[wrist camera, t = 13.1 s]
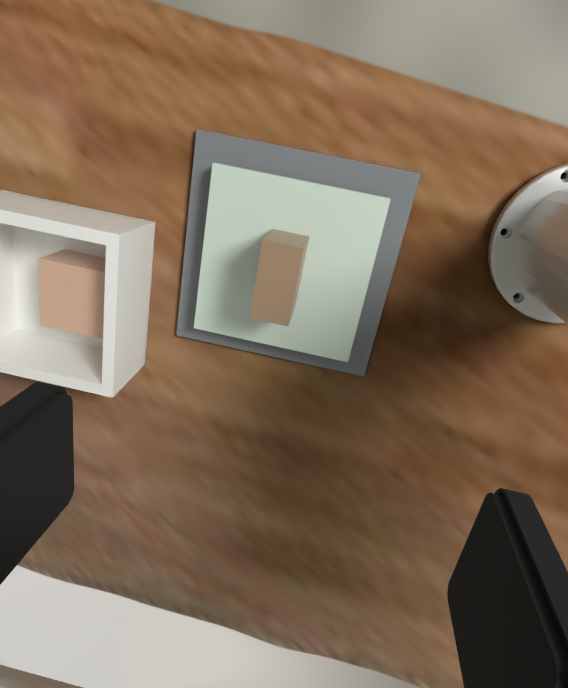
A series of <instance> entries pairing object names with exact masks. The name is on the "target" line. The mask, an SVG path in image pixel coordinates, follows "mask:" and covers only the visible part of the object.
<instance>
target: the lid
mask: <svg viewBox="0 0 568 688" xmlns="http://www.w3.org/2000/svg"><path fill="white" fill-rule="evenodd" d="M390 201H391V199H390V198H388V197H383V196H378V195H373V194H369V193H364V192H359V191H354V190H349V189H344V188H339V187H334V186H329V185H324V184H319V183H314V182H310V181H305V180H300V179H295V178H290V177H285V176H280V175H275V174H270V173H265V172H260V171H255V170H251V169H246V168H241V167H236V166H231V165H226V164H221V163H216V162H215V163H212V172H211V181H210V190H209V198H208V207H207V216H206V225H205V233H204V242H203V251H202V260H201V268H200V277H199V286H198V295H197V303H196V312H195V321H194V328H195V329H199V330H204V331H208V332H213V333H218V334H222V335H227V336H231V337H236V338H240V339H245V340H249V341H254V342H258V343H263V344H267V345H272V346H276V347H281V348H285V349H290V350H294V351H299V352H304V353H308V354H313V355H317V356H322V357H326V358H331V359H335V360H340V361H344V362H348V360H349V356H350V353H351V349H352V345H353V341H354V337H355V334H356V330H357V326H358V322H359V318H360V315H361V311H362V307H363V303H364V299H365V296H366V292H367V288H368V284H369V280H370V277H371V273H372V269H373V265H374V261H375V258H376V254H377V250H378V246H379V242H380V239H381V235H382V231H383V227H384V223H385V220H386V216H387V212H388V208H389V204H390Z"/></svg>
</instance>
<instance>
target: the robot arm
mask: <svg viewBox="0 0 568 688" xmlns="http://www.w3.org/2000/svg"><path fill="white" fill-rule="evenodd" d="M563 172H564V173H565V177H564V178H563V179H560V177H561V174H562V173H563ZM502 229H506V232H505V233H504V234H501V233H500V232H501V230H502ZM488 263H489V268H490V273H491V277H492V279H493V281H494V284H495V286H496V288H497V290H498V291H499V292H500V294H501V295H502V296H503V298H504V299H505V300H506V301H507V302H508V303H509V304H510V305H511V306H512V307H514V308H515V309H517V310H518V311H520V312H521V313H523V314H524V315H526V316H529V317H531V318H533V319H536V320H539V321H544V322H549V323H562V324H568V163H566V164H563V165H560V166H557V167H555V168H552V169H549V170H547V171H545V172H544V173H542V174H540V175H538V176H537V177H535V178H533V179H532V180H530V181H529V182H528V183H527V184H526V185H524V186H523V187H522V188H521V189H519V190H518V191H517V192H516V193H515V195H514V196H513V197H512V198H511V199H510V200H509V201H508V203H507V204H506V205H505V207H504V208H503V210H502V212H501V213H500V215H499V216H498V218H497V221H496V223H495V225H494V228H493V230H492V233H491V238H490V243H489V247H488ZM516 293H518V296H517V297H515V298H513V296H514V295H515V294H516ZM73 491H74V457H73V406H72V398H71V396H70V395H67V392H66V390H65V388H63V387H60V386H56V385H52V384H47V383H43V382H36V383H34V384H32V385H31V386H29V387H28V388H27V389H25V390H24V391H22V392H21V393H20V394H18V395H17V396H15V397H14V398H12V399H11V400H10V401H8V402H7V403H5V404H4V405H2V406H1V407H0V584H1V583H2V582H3V581H4V580H5V578H6V577H7V576H8V575H9V574H10V572H11V571H12V570H13V569H14V568H15V567H16V565H17V564H18V563H19V562H20V561H21V559H22V558H23V557H24V556H25V555H26V553H27V552H28V551H29V550H30V549H31V547H32V546H33V545H34V544H35V543H36V542H37V540H38V539H39V538H40V537H41V536H42V534H43V533H44V532H45V531H46V530H47V528H48V527H49V526H50V525H51V524H52V522H53V521H54V520H55V519H56V518H57V517H58V515H59V514H60V513H61V512H62V511H63V509H64V508H65V507H66V506H67V505H68V503H69V502H70V500H71V498H72V495H73ZM448 603H449V609H450V614H451V619H452V624H453V630H454V635H455V640H456V646H457V651H458V656H459V662H460V667H461V672H462V678H463V683H464V688H568V572H567V570H566V568H565V566H564V563H563V561H562V559H561V557H560V555H559V553H558V551H557V549H556V547H555V545H554V543H553V541H552V539H551V537H550V535H549V533H548V531H547V529H546V526H545V524H544V522H543V520H542V518H541V516H540V514H539V512H538V510H537V508H536V506H535V504H534V502H533V500H532V498H531V497H530V496H529V495H528V494H524V493H520V492H516V491H511V490H507V489H503V488H500V489H498V490H497V491H496V492H495V494H493V493H488V494H487V495H486V497H485V499H484V501H483V504H482V506H481V508H480V511H479V513H478V515H477V518H476V520H475V522H474V525H473V527H472V529H471V532H470V534H469V536H468V539H467V541H466V543H465V546H464V548H463V550H462V553H461V555H460V558H459V560H458V562H457V565H456V567H455V569H454V572H453V574H452V576H451V579H450V581H449V585H448ZM0 688H82V687H79V686H75V685H71V684H67V683H64V682H60V681H57V680H53V679H50V678H46V677H42V676H39V675H35V674H31V673H28V672H24V671H21V670H17V669H13V668H9V667H6V666H3V665H0Z"/></svg>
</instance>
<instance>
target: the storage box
mask: <svg viewBox="0 0 568 688" xmlns="http://www.w3.org/2000/svg"><path fill="white" fill-rule="evenodd" d="M154 233H155V222H154V221H149V220H144V219H140V218H135V217H130V216H125V215H120V214H116V213H111V212H106V211H101V210H96V209H92V208H87V207H82V206H77V205H73V204H68V203H63V202H58V201H53V200H49V199H44V198H39V197H34V196H30V195H25V194H20V193H15V192H10V191H6V190H0V372H2V373H7V374H11V375H15V376H20V377H24V378H29V379H33V380H37V381H42V382H46V383H50V384H55V385H59V386H64V387H68V388H72V389H77V390H81V391H85V392H90V393H94V394H99V395H103V396H107V397H112V398H113V397H114V396H115V395H116V394H117V393H118V392H119V391H120V390H121V389H122V387H123V386H124V385H125V384H126V383H127V382H128V381H129V380H130V379H131V378H132V377H133V376H134V375H135V374H136V373H137V372H138V371H139V370H140V369H141V368H142V367H143V366H144V365H145V360H146V346H147V332H148V318H149V304H150V290H151V276H152V261H153V247H154Z"/></svg>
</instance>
